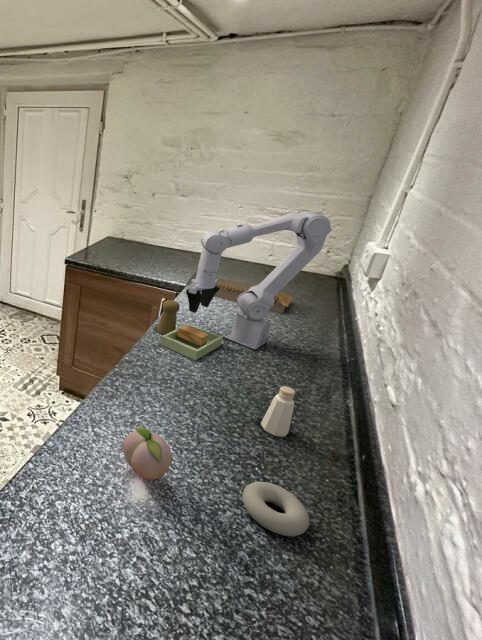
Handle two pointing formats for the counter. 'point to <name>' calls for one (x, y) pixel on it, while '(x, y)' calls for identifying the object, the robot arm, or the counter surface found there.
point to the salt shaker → (279, 413)
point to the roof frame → (244, 287)
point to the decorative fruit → (147, 453)
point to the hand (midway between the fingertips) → (198, 308)
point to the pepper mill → (168, 317)
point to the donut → (276, 522)
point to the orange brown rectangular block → (191, 336)
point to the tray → (187, 350)
